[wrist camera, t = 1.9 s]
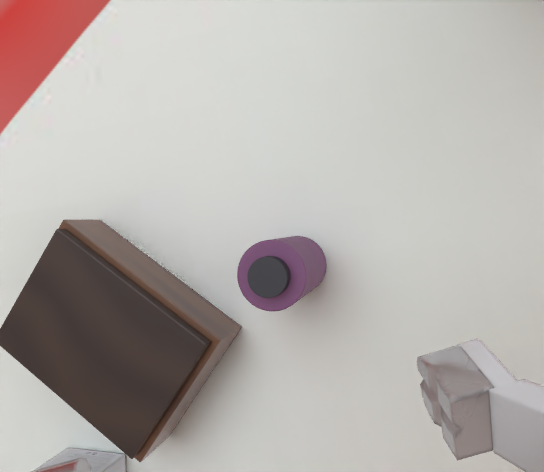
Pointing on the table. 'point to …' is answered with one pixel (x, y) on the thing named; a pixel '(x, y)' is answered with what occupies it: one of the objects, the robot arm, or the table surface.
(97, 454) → the cosmetics box
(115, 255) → the flat rectangular box
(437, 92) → the table surface
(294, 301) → the lotion bottle
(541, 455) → the robot arm
